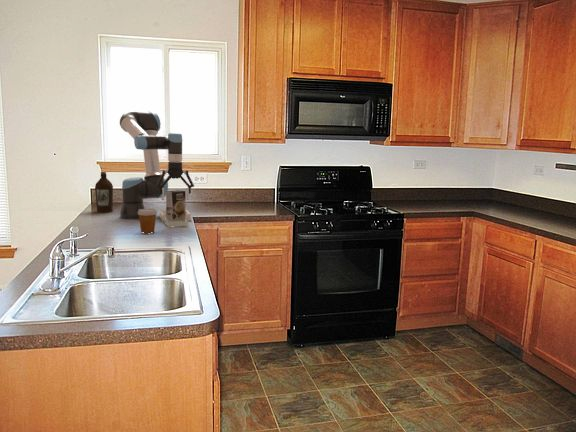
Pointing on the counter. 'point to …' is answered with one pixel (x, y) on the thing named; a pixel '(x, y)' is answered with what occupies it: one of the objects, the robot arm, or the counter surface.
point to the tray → (176, 222)
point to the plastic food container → (163, 215)
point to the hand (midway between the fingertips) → (175, 199)
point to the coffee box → (175, 205)
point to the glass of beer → (147, 220)
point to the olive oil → (104, 194)
